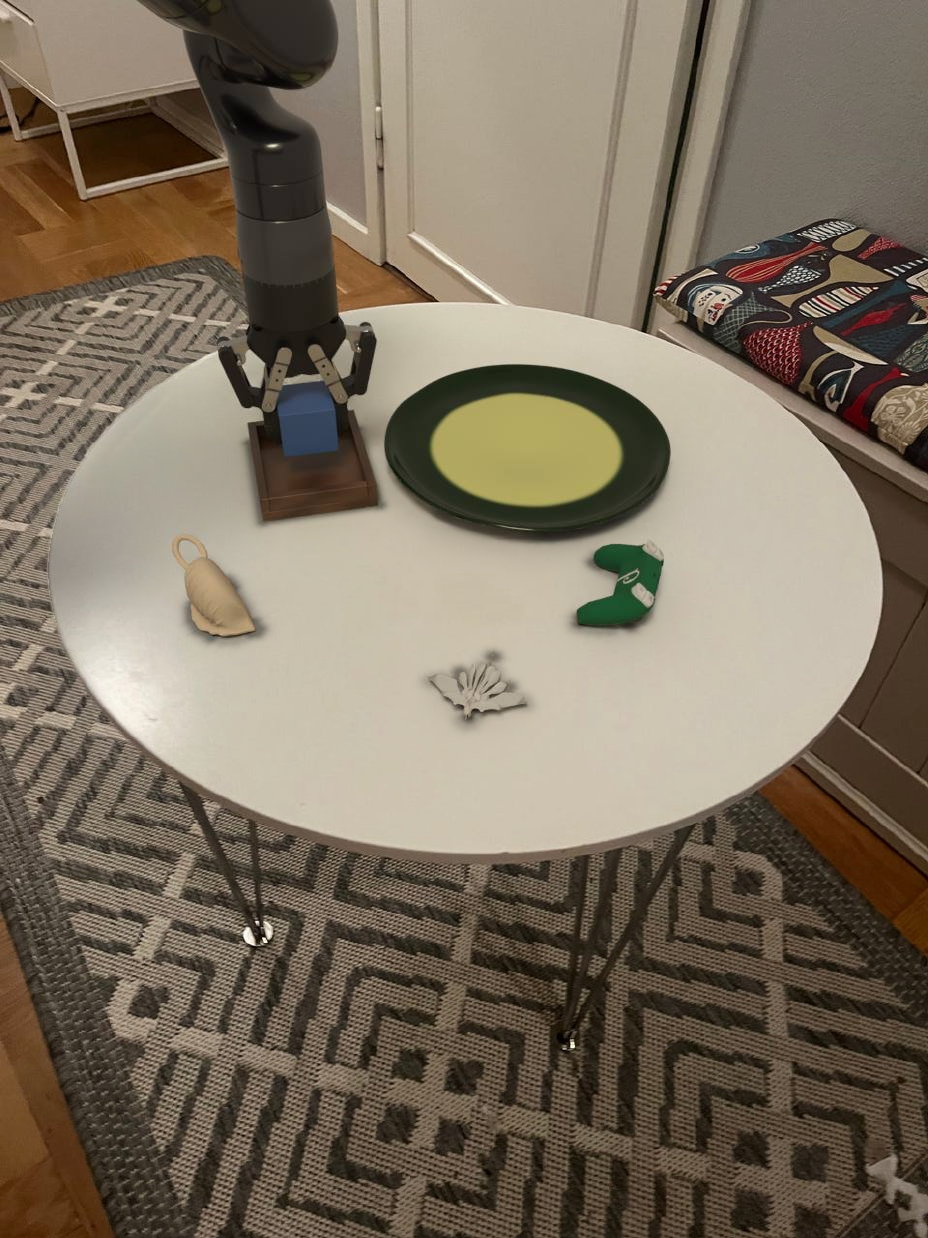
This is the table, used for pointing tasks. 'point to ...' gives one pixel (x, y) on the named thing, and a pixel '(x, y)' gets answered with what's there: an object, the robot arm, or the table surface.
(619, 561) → the green christmas stocking
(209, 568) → the decorative ornament
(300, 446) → the cube
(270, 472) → the tray
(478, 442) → the plate
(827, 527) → the table surface
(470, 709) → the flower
